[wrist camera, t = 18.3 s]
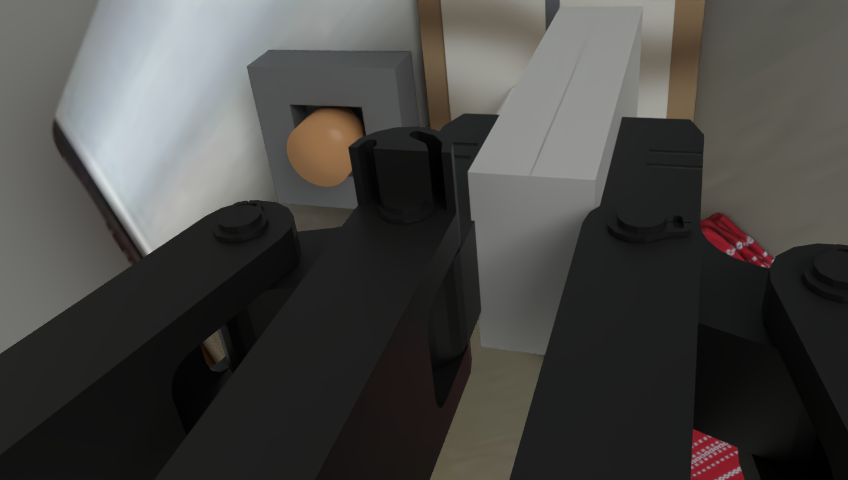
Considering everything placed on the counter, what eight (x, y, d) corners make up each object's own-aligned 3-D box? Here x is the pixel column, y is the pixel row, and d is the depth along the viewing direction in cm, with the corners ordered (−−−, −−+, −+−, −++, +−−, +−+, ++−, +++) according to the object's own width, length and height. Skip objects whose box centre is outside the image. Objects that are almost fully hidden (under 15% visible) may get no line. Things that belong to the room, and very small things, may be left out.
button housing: (268, 50, 51) (246, 66, 48) (410, 51, 48) (394, 68, 45) (297, 182, 56) (278, 202, 54) (426, 191, 53) (412, 213, 51)
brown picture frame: (402, -177, 41) (396, -175, 40) (725, -206, 36) (725, -204, 35) (438, 179, 52) (434, 187, 51) (685, 195, 47) (685, 204, 46)
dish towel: (712, 193, 47) (712, 216, 45) (956, 428, 51) (967, 458, 49) (526, 324, 57) (518, 347, 55) (740, 511, 61) (741, 539, 59)
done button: (301, 102, 50) (280, 122, 47) (363, 105, 48) (345, 125, 46) (313, 163, 52) (293, 184, 50) (372, 166, 51) (356, 188, 48)
